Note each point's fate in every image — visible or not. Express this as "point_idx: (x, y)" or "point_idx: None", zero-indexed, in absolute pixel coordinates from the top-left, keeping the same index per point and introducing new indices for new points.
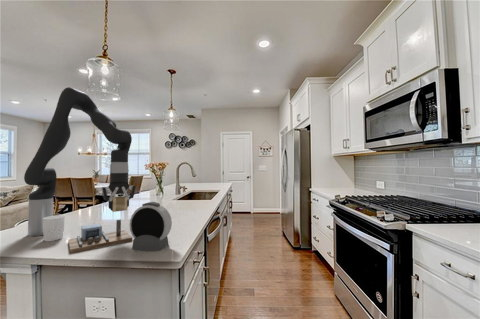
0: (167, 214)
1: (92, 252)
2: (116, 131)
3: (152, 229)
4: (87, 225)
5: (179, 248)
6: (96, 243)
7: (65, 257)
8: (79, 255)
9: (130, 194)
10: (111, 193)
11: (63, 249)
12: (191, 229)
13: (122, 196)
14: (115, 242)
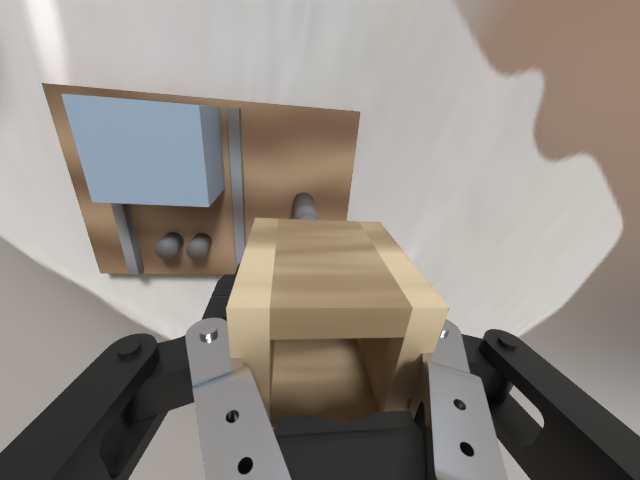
0: None
1: (189, 301)
2: None
3: None
4: (108, 104)
5: None
6: (199, 262)
7: (102, 295)
8: (148, 303)
9: (517, 381)
10: (206, 433)
11: (66, 192)
12: (571, 276)
13: (404, 334)
14: None
